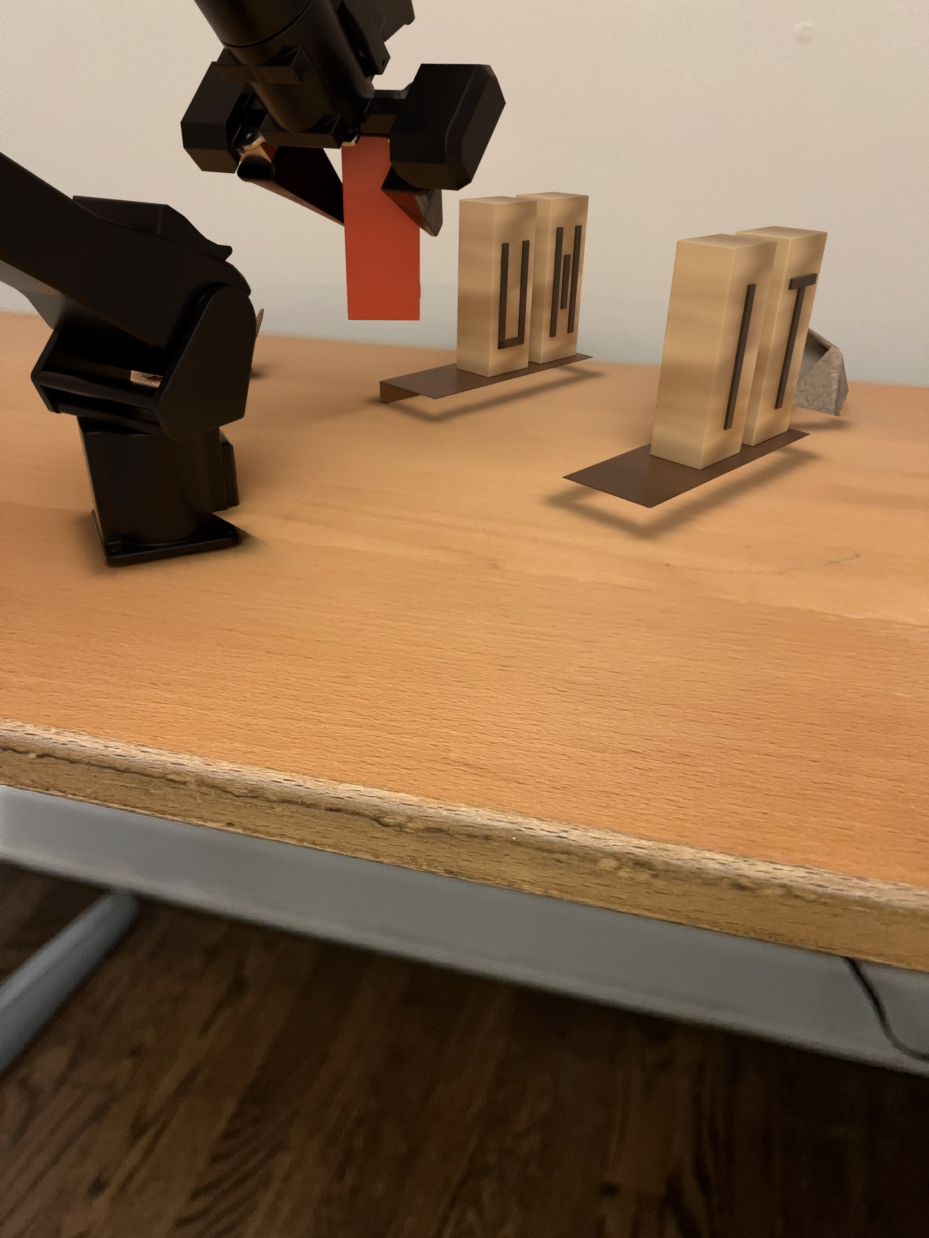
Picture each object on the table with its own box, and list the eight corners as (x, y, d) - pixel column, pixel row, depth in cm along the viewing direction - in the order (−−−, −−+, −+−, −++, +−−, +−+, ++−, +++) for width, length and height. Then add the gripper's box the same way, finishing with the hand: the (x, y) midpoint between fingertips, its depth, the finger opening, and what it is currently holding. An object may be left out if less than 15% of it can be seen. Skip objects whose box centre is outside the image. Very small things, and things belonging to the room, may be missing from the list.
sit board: (646, 534, 48) (682, 264, 42) (559, 501, 52) (579, 248, 45) (806, 455, 60) (855, 233, 53) (725, 433, 63) (761, 222, 56)
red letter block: (421, 320, 57) (421, 102, 51) (347, 320, 57) (338, 100, 51) (419, 306, 61) (419, 101, 55) (350, 306, 61) (342, 99, 55)
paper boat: (868, 426, 61) (740, 383, 61) (818, 479, 67) (701, 440, 67) (878, 301, 67) (760, 260, 66) (831, 359, 72) (722, 322, 72)
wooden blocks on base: (435, 419, 65) (436, 211, 58) (379, 400, 68) (374, 203, 61) (592, 374, 76) (608, 196, 69) (537, 360, 79) (547, 190, 73)
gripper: (496, -144, 41) (573, 128, 55) (189, -114, 49) (325, 118, 63) (404, 52, 39) (508, 283, 53) (99, 51, 47) (260, 253, 61)
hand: (394, 226), depth 58 cm, fingers closed on red letter block, 6 cm apart
